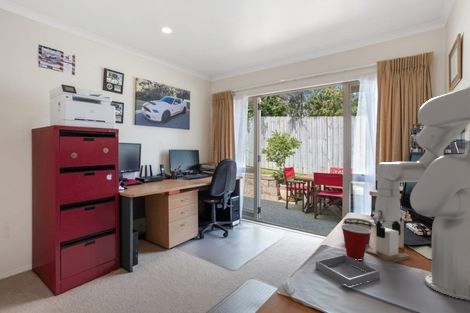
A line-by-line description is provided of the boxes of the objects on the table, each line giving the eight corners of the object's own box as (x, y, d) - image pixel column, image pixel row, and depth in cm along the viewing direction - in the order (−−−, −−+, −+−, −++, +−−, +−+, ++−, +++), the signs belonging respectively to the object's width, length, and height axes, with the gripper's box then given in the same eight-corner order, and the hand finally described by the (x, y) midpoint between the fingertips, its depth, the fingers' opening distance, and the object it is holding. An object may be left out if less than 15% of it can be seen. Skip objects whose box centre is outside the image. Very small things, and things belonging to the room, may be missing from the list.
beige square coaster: (410, 257, 95) (410, 255, 95) (392, 262, 90) (392, 260, 90) (382, 248, 105) (382, 245, 105) (365, 252, 100) (365, 249, 100)
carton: (398, 253, 96) (398, 231, 96) (389, 256, 94) (389, 233, 94) (384, 248, 101) (384, 227, 101) (376, 250, 99) (376, 229, 99)
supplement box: (404, 248, 104) (404, 218, 104) (391, 247, 105) (392, 217, 105) (395, 242, 112) (395, 214, 112) (384, 241, 113) (384, 213, 113)
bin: (379, 278, 79) (379, 270, 79) (349, 288, 73) (349, 279, 73) (343, 261, 91) (343, 254, 91) (315, 268, 85) (315, 261, 85)
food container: (371, 241, 113) (372, 219, 113) (373, 245, 108) (373, 223, 108) (343, 237, 119) (343, 216, 119) (342, 241, 113) (343, 219, 113)
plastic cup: (378, 262, 90) (378, 230, 90) (352, 264, 88) (353, 232, 88) (357, 251, 101) (358, 222, 101) (334, 253, 99) (335, 223, 99)
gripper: (392, 190, 104) (392, 230, 104) (365, 192, 97) (365, 235, 97) (411, 193, 97) (411, 235, 97) (383, 195, 90) (383, 241, 90)
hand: (388, 235), depth 97 cm, fingers open, 9 cm apart
